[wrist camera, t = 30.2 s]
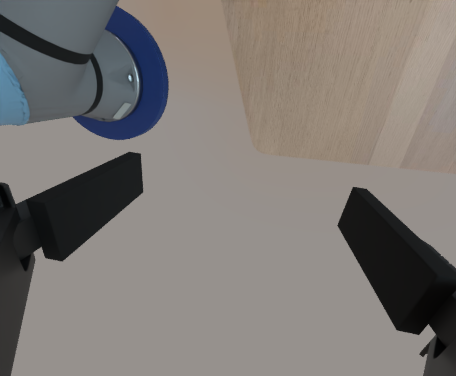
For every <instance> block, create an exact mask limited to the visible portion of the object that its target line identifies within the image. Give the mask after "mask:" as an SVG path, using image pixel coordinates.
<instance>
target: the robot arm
mask: <svg viewBox="0 0 456 376" xmlns="http://www.w3.org/2000/svg"><path fill="white" fill-rule="evenodd" d="M118 1H119V0H0V125H24V124H27V123H34V122H40V121H47V120H53V119H59V118H66V117H73V116H79V115H82V116H85V117H89V118H93V119H96V120H99V121H105V122H112V121H117V120H122V119H125V118H127V117H129V116H130V115H131V114H132V113H134V111H135V110H136V109H137V107H138V106H139V104H140V101H141V98H142V94H143V77H142V72H141V68H140V65H139V63H138V61H137V59H136V57H135V55H134V53H133V52H132V50H131V49H130V47H129V46H128V45H127V44H126V43H125V42H124V41H123V40H122V39H121V38H120V37H118V36H117V35H116V34H114V33H112V32H110V31H108V30H105V27H106V25H107V23H108V21H109V19H110V17H111V15H112V13H113V11H114V9H115V7H116V5H117V3H118ZM141 193H143V181H142V168H141V154H139V153H133V152H128V153H126V154H124V155H122V156H119V157H117V158H115V159H113V160H111V161H108V162H106V163H104V164H102V165H100V166H98V167H96V168H93V169H91V170H89V171H87V172H85V173H83V174H80V175H78V176H76V177H74V178H72V179H70V180H68V181H65V182H63V183H61V184H59V185H57V186H55V187H52V188H50V189H48V190H46V191H44V192H42V193H40V194H37V195H35V196H33V197H31V198H28V199H26V200H24V201H22V202H20V203H18V204H15V201H14V199H13V196H12V193H11V191H10V188H9V185H8V184H5V183H0V376H11V371H12V366H13V362H14V357H15V352H16V348H17V343H18V339H19V334H20V329H21V325H22V320H23V315H24V310H25V306H26V301H27V296H28V292H29V287H30V282H31V278H32V272H33V268H34V264H35V256H34V254H33V252H34V251H36V250H37V249H39V248H40V247H42V250H43V253H44V256H45V258H48V259H53V260H58V261H63V260H65V259H66V258H67V257H68V256H69V255H70V254H71V253H73V252H74V251H75V250H76V249H77V248H78V247H80V246H81V245H82V244H83V243H84V242H86V241H87V240H88V239H89V238H90V237H91V236H93V235H94V234H95V233H96V232H97V231H98V230H100V229H101V228H102V227H103V226H104V225H105V224H107V223H108V222H109V221H110V220H111V219H112V218H114V217H115V216H116V215H117V214H118V213H119V212H120V211H122V210H123V209H124V208H125V207H126V206H128V205H129V204H130V203H131V202H132V201H133V200H134V199H136V198H137V197H138V196H139V195H140V194H141ZM338 227H339V229H340V231H341V233H342V234H343V236H344V238H345V240H346V241H347V243H348V245H349V247H350V248H351V250H352V252H353V254H354V256H355V257H356V259H357V261H358V263H359V264H360V266H361V268H362V270H363V272H364V273H365V275H366V277H367V278H368V280H369V282H370V284H371V286H372V287H373V289H374V291H375V293H376V294H377V296H378V298H379V300H380V302H381V303H382V305H383V307H384V309H385V310H386V312H387V314H388V316H389V317H390V319H391V321H392V323H393V324H394V326H395V328H396V330H398V331H403V332H408V333H413V334H417V335H419V334H420V333H421V332H422V331H423V330H424V328H425V327H426V326H427V325H428V324H429V325H430V327H431V328H432V329H433V331H434V332H435V333H436V335H435V336H434V338H433V339H432V340H431V341H430V342H429V343H428V344H427V345H426V347H425V348H424V349H423V350H422V351H421V352H420V355H421V356H422V357H424V355H425V354H428V355H427V360H426V365H425V370H424V375H423V376H456V268H455V267H454V266H452V264H449V262H448V261H447V260H446V259H445V258H444V257H443V256H441V254H439V253H438V252H437V251H436V250H435V249H434V248H433V247H432V246H431V245H429V244H427V243H426V242H424V241H423V240H421V239H420V238H419V237H418V236H416V235H415V234H414V233H413V232H412V231H411V230H410V229H409V228H408V227H407V226H406V225H405V224H403V222H401V221H400V220H399V219H398V218H397V217H396V216H395V215H394V214H393V213H392V212H391V211H390V210H389V209H388V208H386V207H385V206H384V205H383V204H382V203H381V202H380V201H379V200H378V199H377V198H376V197H375V196H374V195H372V194H371V193H370V192H369V191H368V190H367V189H363V188H357V187H353V189H352V191H351V193H350V196H349V198H348V201H347V203H346V206H345V208H344V210H343V213H342V216H341V218H340V220H339V223H338Z"/></svg>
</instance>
